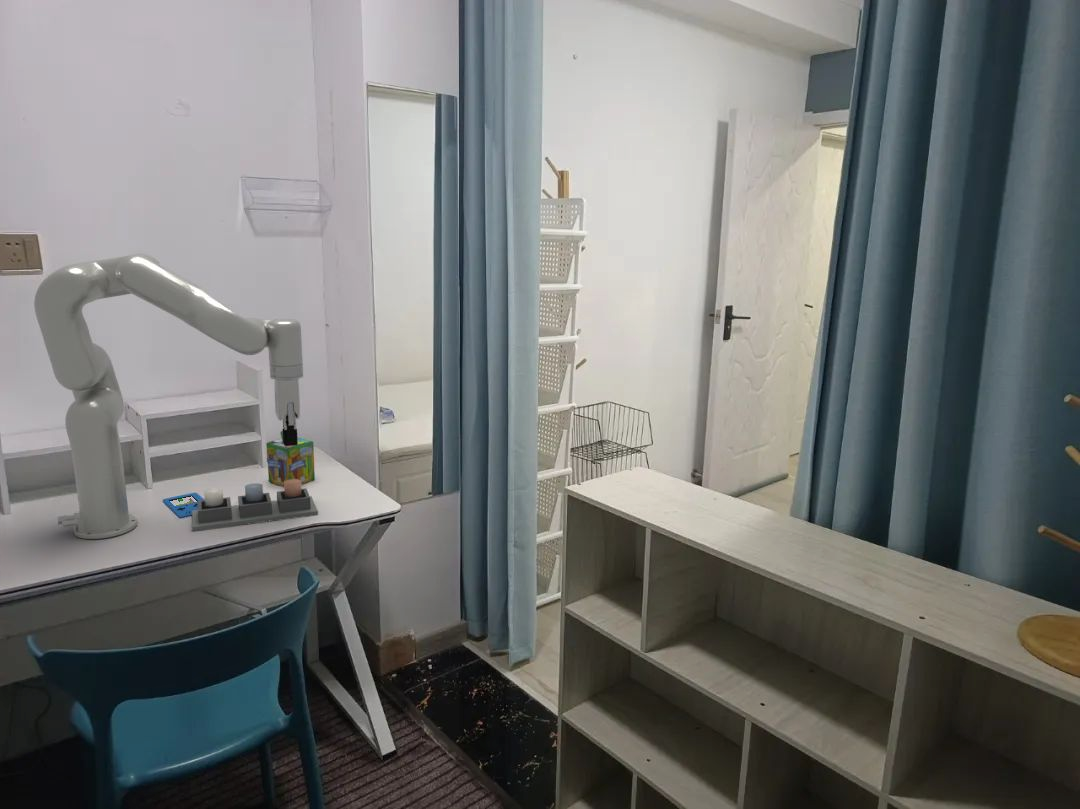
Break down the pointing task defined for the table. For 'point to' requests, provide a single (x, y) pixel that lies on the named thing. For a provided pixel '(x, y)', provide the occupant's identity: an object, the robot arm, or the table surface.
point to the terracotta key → (292, 487)
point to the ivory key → (213, 496)
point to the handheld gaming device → (183, 505)
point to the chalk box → (290, 461)
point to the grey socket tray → (252, 510)
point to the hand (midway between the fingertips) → (290, 444)
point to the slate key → (254, 492)
